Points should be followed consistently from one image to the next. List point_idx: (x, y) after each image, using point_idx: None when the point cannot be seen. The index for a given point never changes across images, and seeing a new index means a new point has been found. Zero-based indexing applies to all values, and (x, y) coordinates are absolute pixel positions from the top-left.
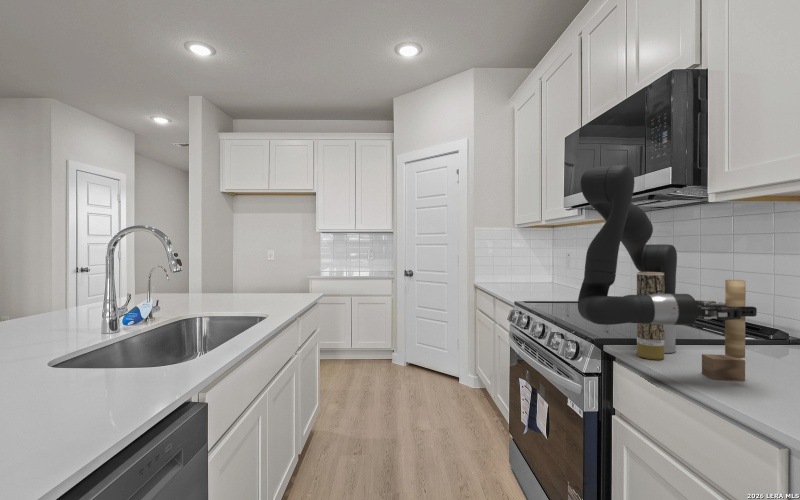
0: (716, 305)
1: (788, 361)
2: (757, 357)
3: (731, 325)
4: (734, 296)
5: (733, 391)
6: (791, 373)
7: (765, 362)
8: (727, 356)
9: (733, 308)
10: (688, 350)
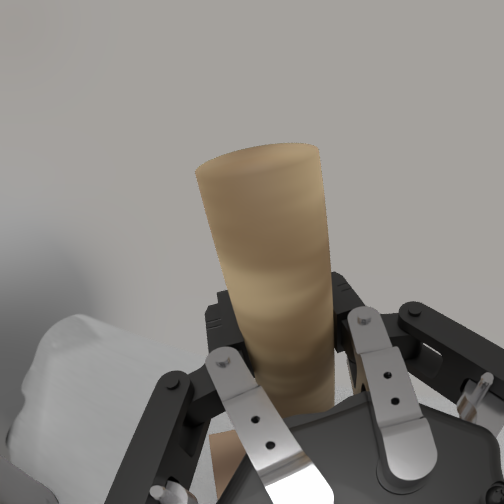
0: (412, 395)
1: (116, 332)
2: (92, 362)
3: (328, 399)
4: (328, 267)
5: None
6: (185, 353)
7: (120, 363)
8: (228, 452)
9: (453, 326)
10: (40, 453)
